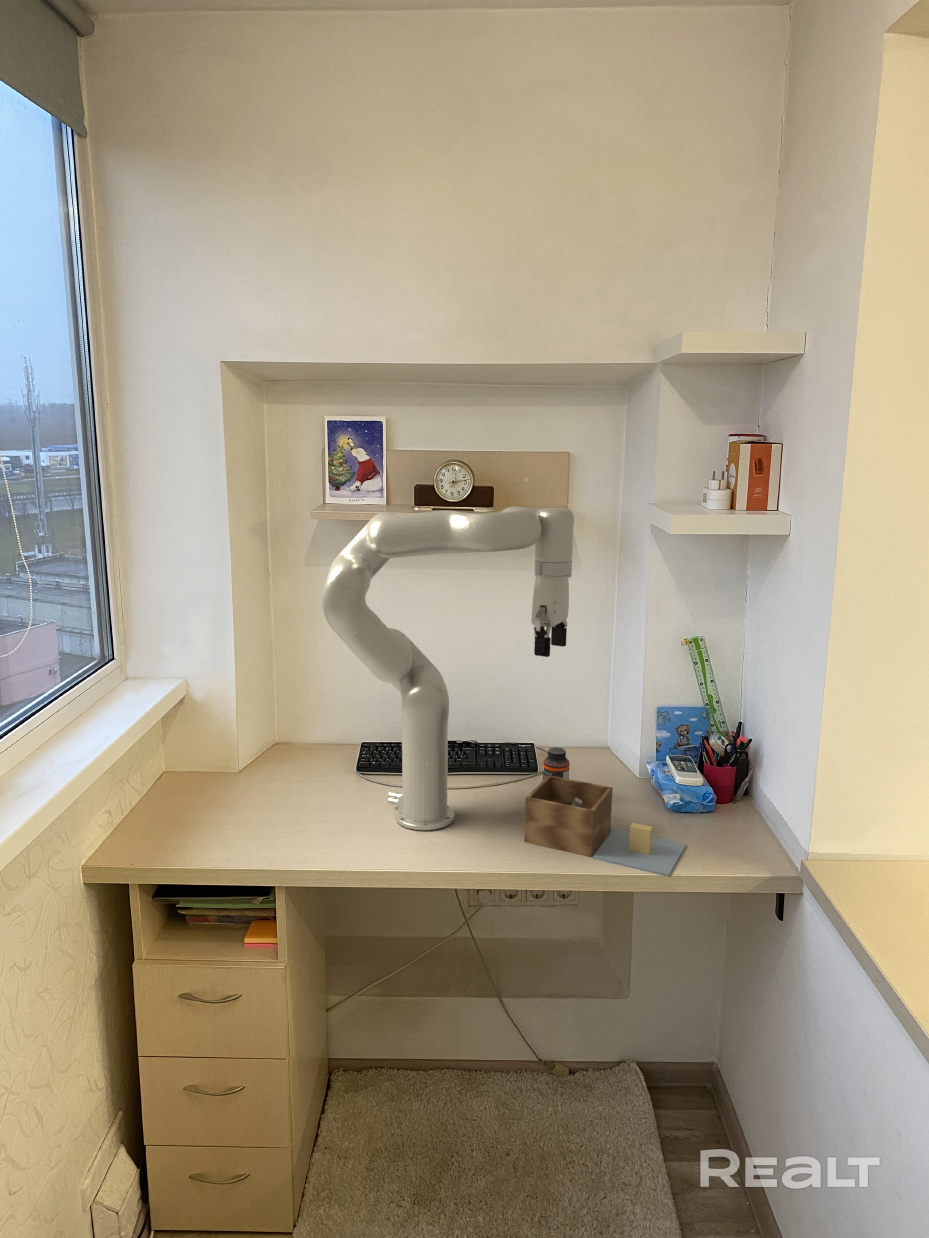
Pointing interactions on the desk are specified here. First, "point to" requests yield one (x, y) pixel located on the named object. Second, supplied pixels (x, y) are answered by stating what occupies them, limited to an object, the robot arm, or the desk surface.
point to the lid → (640, 850)
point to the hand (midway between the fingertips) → (550, 650)
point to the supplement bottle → (556, 763)
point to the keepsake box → (568, 815)
